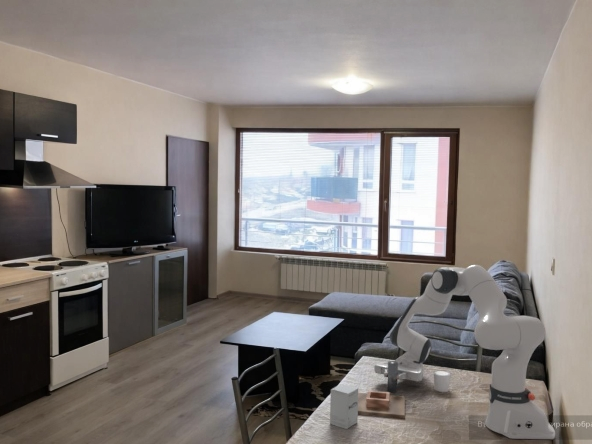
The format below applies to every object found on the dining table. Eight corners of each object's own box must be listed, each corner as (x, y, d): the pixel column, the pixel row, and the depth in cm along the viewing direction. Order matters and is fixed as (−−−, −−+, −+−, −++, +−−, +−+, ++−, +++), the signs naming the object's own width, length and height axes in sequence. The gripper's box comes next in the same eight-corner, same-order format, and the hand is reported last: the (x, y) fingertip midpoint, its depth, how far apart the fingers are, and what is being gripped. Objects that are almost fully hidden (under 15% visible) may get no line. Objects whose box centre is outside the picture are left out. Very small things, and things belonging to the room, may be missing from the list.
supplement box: (347, 429, 184) (348, 393, 183) (329, 424, 188) (329, 388, 188) (358, 422, 190) (359, 387, 189) (340, 417, 194) (341, 383, 194)
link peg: (397, 389, 222) (397, 361, 221) (397, 393, 218) (397, 364, 217) (387, 389, 223) (388, 360, 222) (387, 392, 219) (387, 363, 218)
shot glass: (452, 392, 220) (452, 375, 219) (435, 392, 220) (435, 375, 219) (447, 386, 226) (448, 370, 226) (431, 386, 227) (431, 370, 226)
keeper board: (404, 399, 211) (404, 389, 211) (404, 418, 194) (404, 407, 194) (353, 395, 215) (354, 385, 215) (349, 413, 198) (349, 402, 198)
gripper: (381, 355, 236) (368, 364, 224) (426, 364, 226) (415, 373, 214) (381, 369, 237) (368, 379, 225) (426, 378, 226) (415, 388, 214)
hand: (391, 376), depth 219 cm, fingers closed on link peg, 4 cm apart
